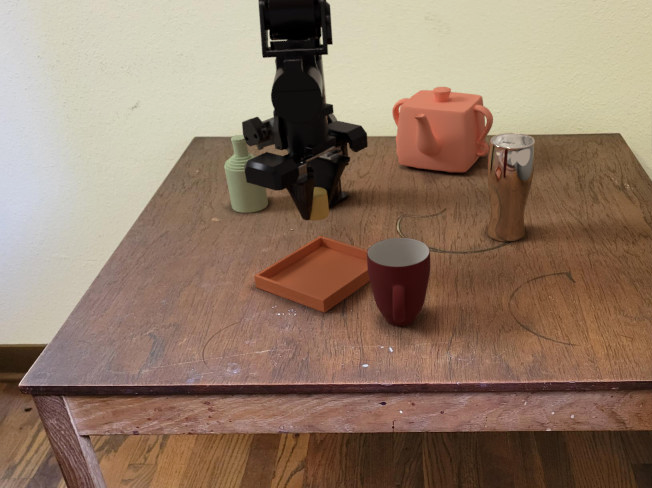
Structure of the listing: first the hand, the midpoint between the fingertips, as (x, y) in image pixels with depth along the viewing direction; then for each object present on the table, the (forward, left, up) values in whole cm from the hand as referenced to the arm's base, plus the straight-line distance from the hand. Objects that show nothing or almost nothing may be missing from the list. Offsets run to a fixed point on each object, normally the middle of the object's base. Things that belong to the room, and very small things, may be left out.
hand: (315, 214), depth 99 cm
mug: (+4, +17, -10) cm, 20 cm away
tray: (0, 0, -10) cm, 10 cm away
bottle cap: (0, 0, 0) cm, 0 cm away
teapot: (-45, -9, -10) cm, 47 cm away
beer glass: (-27, +16, -10) cm, 33 cm away
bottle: (-13, -28, -10) cm, 32 cm away
